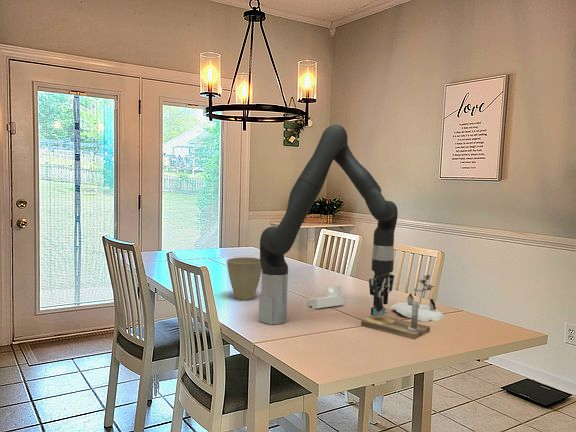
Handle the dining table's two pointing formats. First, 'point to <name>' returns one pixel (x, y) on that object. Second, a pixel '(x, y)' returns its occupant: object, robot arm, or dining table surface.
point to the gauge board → (398, 324)
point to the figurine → (420, 306)
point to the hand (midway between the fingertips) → (380, 305)
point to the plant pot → (244, 276)
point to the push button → (380, 305)
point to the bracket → (328, 298)
